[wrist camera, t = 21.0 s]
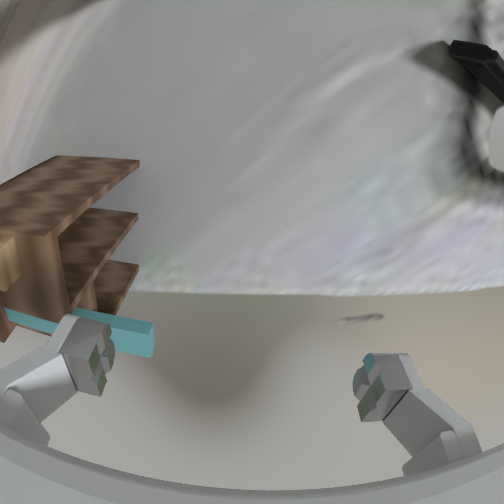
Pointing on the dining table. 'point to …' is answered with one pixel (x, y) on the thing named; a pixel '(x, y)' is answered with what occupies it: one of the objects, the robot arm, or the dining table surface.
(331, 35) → the dining table surface
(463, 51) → the magazine
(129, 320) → the slat
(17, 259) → the rack
